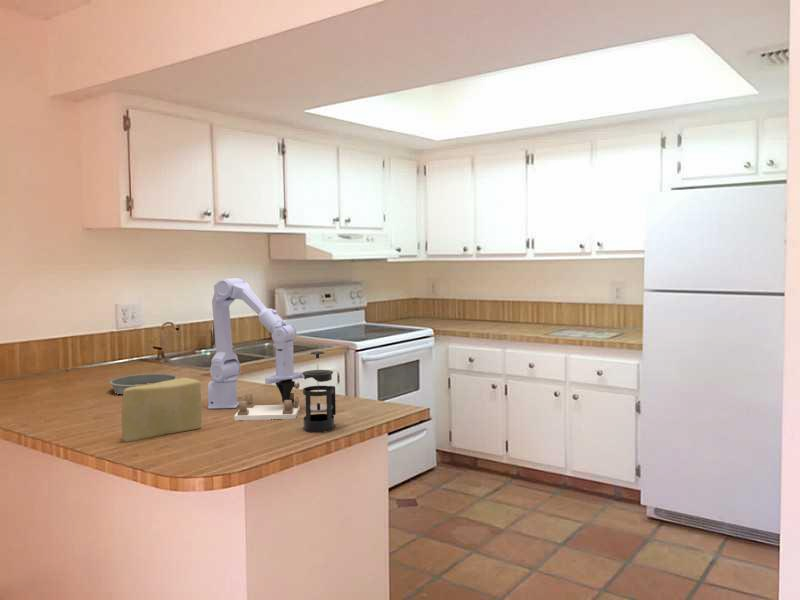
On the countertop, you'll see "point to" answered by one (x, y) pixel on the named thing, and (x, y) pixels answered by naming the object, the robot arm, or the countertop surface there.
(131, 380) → the cake pan
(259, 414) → the white board with posts
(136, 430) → the cheese
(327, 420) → the french press
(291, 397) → the hinged leg
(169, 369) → the countertop surface
